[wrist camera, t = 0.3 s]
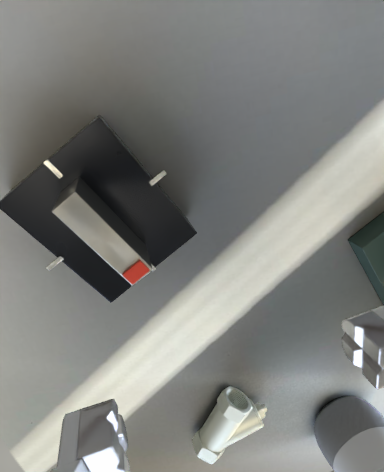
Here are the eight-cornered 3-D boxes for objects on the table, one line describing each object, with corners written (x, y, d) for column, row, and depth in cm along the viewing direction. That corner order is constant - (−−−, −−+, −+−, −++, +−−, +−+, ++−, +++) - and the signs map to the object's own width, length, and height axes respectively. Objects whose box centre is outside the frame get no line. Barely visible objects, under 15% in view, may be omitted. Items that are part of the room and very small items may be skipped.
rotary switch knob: (59, 193, 22) (50, 213, 19) (79, 176, 22) (74, 192, 18) (128, 259, 25) (132, 288, 22) (146, 245, 25) (153, 271, 22)
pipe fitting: (262, 389, 41) (219, 383, 38) (279, 416, 38) (233, 412, 35) (232, 434, 43) (188, 433, 40) (245, 465, 40) (199, 465, 37)
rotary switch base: (-3, 199, 25) (-19, 215, 22) (110, 103, 24) (111, 104, 21) (101, 289, 30) (101, 313, 27) (197, 211, 29) (209, 226, 26)
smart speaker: (376, 403, 47) (474, 513, 35) (330, 444, 49) (408, 565, 36) (343, 378, 43) (441, 492, 31) (294, 423, 45) (368, 551, 32)
